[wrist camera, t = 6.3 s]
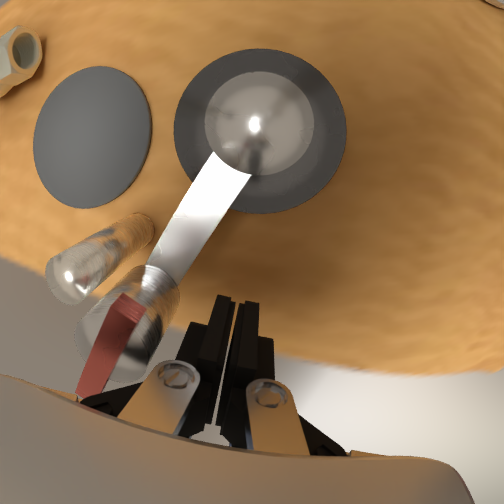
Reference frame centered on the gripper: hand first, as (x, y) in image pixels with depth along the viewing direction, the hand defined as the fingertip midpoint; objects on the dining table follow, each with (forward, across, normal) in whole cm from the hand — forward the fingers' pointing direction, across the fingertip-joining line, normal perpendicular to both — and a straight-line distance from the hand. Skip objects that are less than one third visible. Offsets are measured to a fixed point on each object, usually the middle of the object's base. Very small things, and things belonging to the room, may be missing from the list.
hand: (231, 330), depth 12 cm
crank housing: (+5, +2, -5) cm, 7 cm away
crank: (+2, +2, -4) cm, 5 cm away
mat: (+5, +10, -6) cm, 13 cm away
